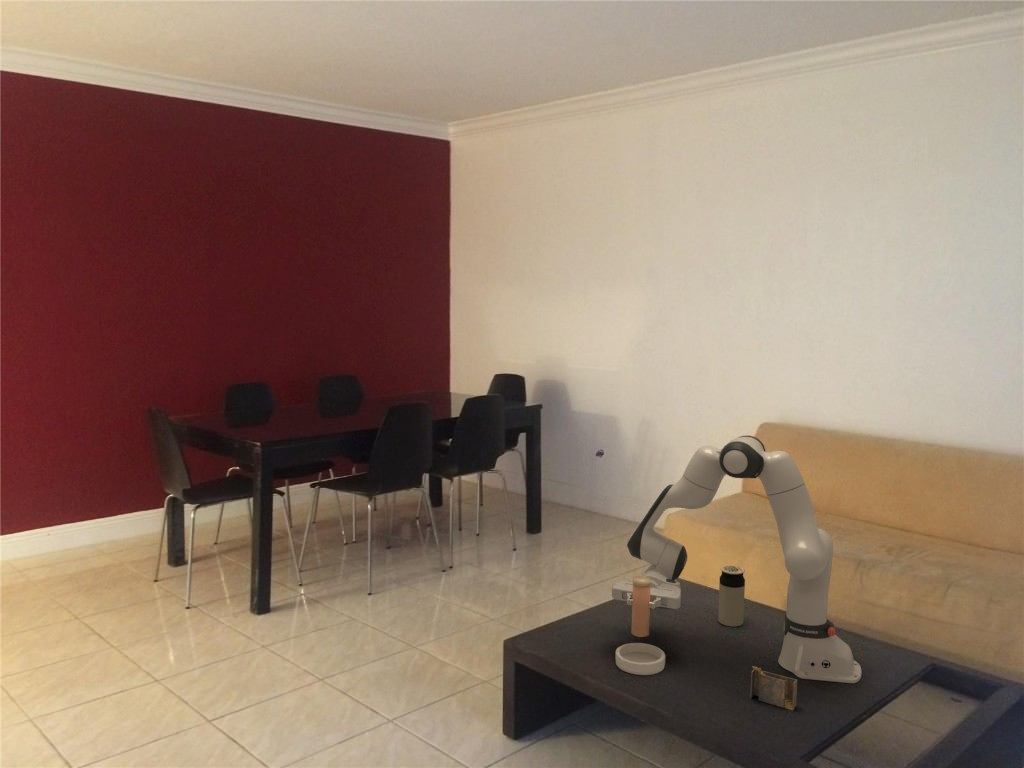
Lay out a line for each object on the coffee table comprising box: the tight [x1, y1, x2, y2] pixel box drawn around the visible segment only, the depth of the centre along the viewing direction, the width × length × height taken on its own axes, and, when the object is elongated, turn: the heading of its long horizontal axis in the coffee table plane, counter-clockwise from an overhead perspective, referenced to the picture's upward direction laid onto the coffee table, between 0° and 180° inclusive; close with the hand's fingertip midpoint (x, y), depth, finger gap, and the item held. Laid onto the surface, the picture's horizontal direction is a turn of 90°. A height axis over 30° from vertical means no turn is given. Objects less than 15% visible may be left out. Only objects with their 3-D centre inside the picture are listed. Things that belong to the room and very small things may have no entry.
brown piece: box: [749, 665, 798, 711], centre depth 219 cm, size 11×3×10 cm, turn 57°
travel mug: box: [717, 564, 746, 628], centre depth 270 cm, size 8×8×18 cm
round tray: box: [615, 642, 666, 676], centre depth 241 cm, size 14×14×3 cm
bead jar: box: [631, 575, 651, 638], centre depth 239 cm, size 5×5×16 cm
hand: (640, 604), depth 238 cm, fingers closed on bead jar, 5 cm apart
